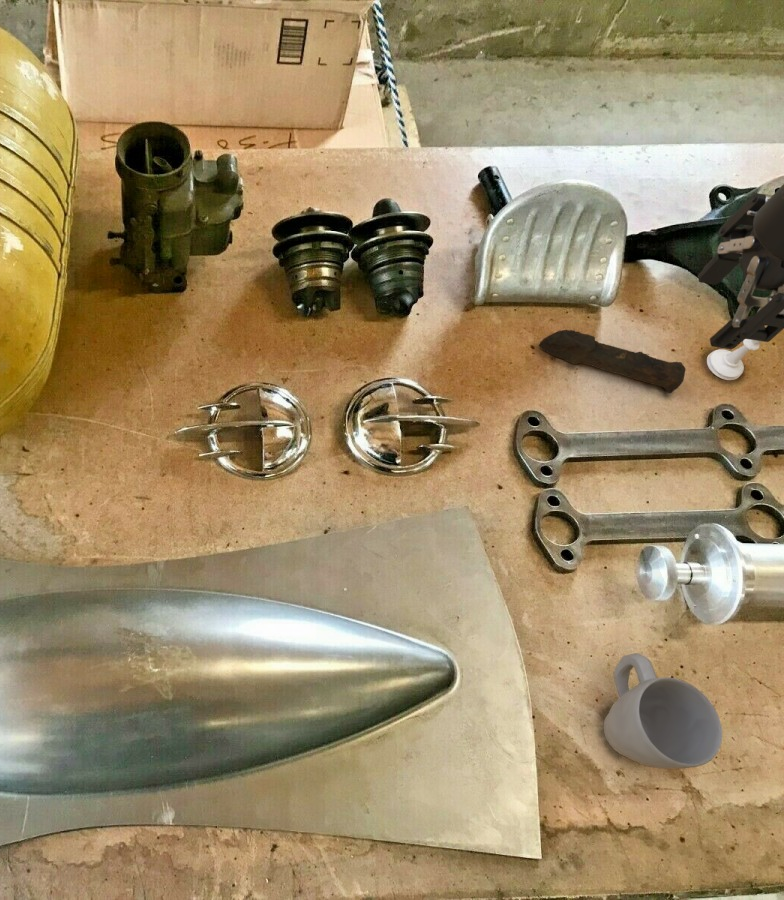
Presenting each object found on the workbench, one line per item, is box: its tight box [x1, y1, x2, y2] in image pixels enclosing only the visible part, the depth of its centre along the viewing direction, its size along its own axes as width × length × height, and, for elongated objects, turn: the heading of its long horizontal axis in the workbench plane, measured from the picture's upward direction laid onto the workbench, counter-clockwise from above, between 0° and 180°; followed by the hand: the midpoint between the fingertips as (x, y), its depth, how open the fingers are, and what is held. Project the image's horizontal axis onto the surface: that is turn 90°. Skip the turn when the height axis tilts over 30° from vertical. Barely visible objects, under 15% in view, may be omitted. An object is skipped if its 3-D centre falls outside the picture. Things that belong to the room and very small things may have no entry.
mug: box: [603, 653, 723, 770], centre depth 85 cm, size 12×9×10 cm
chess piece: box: [706, 339, 764, 381], centre depth 108 cm, size 5×5×10 cm
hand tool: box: [538, 329, 687, 394], centre depth 110 cm, size 19×4×5 cm, turn 70°
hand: (712, 312), depth 84 cm, fingers open, 8 cm apart
